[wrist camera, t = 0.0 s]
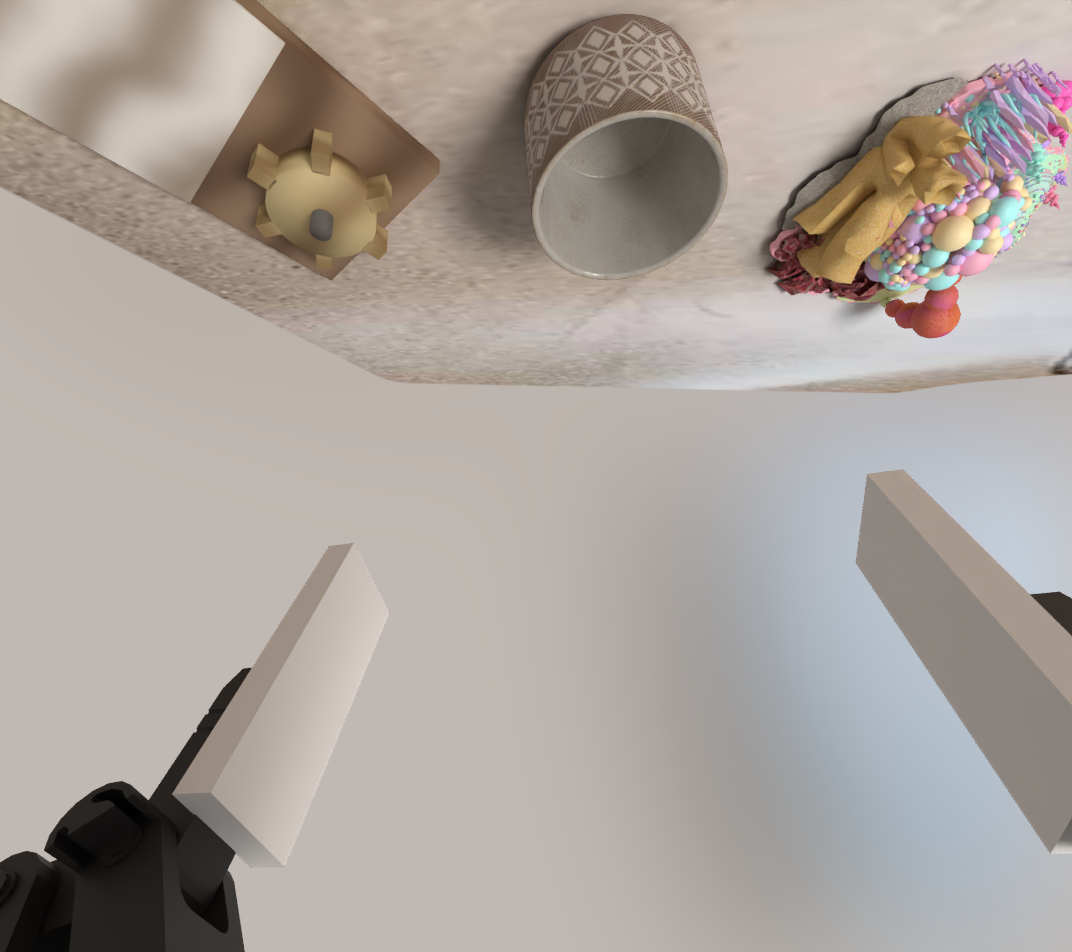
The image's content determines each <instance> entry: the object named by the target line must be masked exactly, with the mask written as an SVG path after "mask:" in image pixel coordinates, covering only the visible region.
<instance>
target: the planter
mask: <svg viewBox="0 0 1072 952" xmlns="http://www.w3.org/2000/svg"><path fill="white" fill-rule="evenodd" d="M524 134H525V145H526V156H527V168H528V179H529V190H530V201H531V213H532V222H533V228H534V232H535V235H536V238H537V240H538V242H539V244H540V246H541V247H542V249H543V250H544V252H545V253H546V254H547V255H548V256H549V257H550V258H551V259H552V260H553V261H554V262H555V263H556V264H558V265H559V266H560V267H562V268H564V269H565V270H567V271H569V272H571V273H574V274H576V275H579V276H583V277H587V278H592V279H599V280H619V279H627V278H632V277H636V276H640V275H644V274H647V273H650V272H652V271H655V270H657V269H659V268H661V267H664V266H666V265H667V264H669V263H671V262H673V261H674V260H676V259H677V258H679V257H680V256H682V255H683V254H684V253H686V252H687V251H688V250H689V249H691V248H692V247H693V246H694V245H695V244H696V243H697V242H698V241H699V240H700V239H701V238H702V237H703V236H704V234H705V233H706V232H707V231H708V229H709V228H710V227H711V225H712V224H713V222H714V221H715V219H716V217H717V215H718V213H719V211H720V209H721V207H722V204H723V201H724V198H725V195H726V190H727V183H728V170H727V163H726V159H725V155H724V152H723V149H722V145H721V142H720V139H719V136H718V132H717V129H716V126H715V122H714V119H713V116H712V113H711V109H710V106H709V103H708V100H707V96H706V93H705V90H704V86H703V83H702V80H701V77H700V73H699V70H698V67H697V64H696V61H695V58H694V56H693V54H692V52H691V50H690V49H689V47H688V46H687V44H686V43H685V41H684V40H683V39H682V38H681V37H680V36H679V35H678V34H677V33H676V32H675V31H674V30H673V29H671V28H670V27H669V26H667V25H665V24H664V23H662V22H660V21H657V20H655V19H652V18H649V17H645V16H641V15H633V14H622V15H613V16H608V17H604V18H600V19H598V20H595V21H592V22H590V23H588V24H586V25H584V26H582V27H580V28H578V29H577V30H575V31H574V32H572V33H571V34H569V35H568V36H567V37H566V38H564V39H563V40H562V41H561V42H560V43H559V44H558V45H557V46H556V47H555V48H554V49H553V50H552V51H551V52H550V54H549V55H548V56H547V57H546V59H545V60H544V62H543V63H542V64H541V66H540V68H539V69H538V71H537V73H536V75H535V77H534V79H533V81H532V84H531V86H530V89H529V92H528V96H527V100H526V105H525V111H524Z"/></svg>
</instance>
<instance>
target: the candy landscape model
mask: <svg viewBox="0 0 1072 952" xmlns="http://www.w3.org/2000/svg"><path fill="white" fill-rule="evenodd" d="M1023 62H1024V63H1025V65H1026V66H1027V67H1028V69H1029V70H1030V71H1031V72H1033V74H1034V75H1035V76H1037V77H1039V78H1040V80H1041V82H1042V83H1043V85H1044V86H1040V87H1039V86H1038V84H1037V82H1036V81H1035V79H1032V78H1031V76H1030V74H1029V73H1028V74H1025V73H1024V71H1020V72H1017V70H1016V68H1015V67H1014V66H1013V65H1012V63H1009V65H1008V67H1009V68H1010V69H1011V71H1012V73H1013V74H1014V75H1012V73H1004V72H1003V71H1002V70H1001V69H1000V67H999V65H998V63H995V64H994V65H993V66H994V67H995V68H996V70H997V71H998V72H999V73H1000V75H1001V76H999V75H998V72H997V73H995V76H996V77H997V78H995V79H993V78H992V77H988V76H985V77H983V78H982V79H979V80H976V81H973V82H970V83H968V81H967V80H963V79H962V78H953V79H949V80H945V81H941V82H937V83H933V84H930V85H926V86H923V87H921V88H920V89H918V90H917V91H916V92H915V93H914V94H913V95H911V96H910V97H907V98H904V99H902V100H900V101H898V102H897V103H896V104H895V105H894V106H893V107H891V108H890V109H889V110H887V111H886V112H885V113H884V114H883V116H882V117H881V119H880V122H879V124H878V127H877V128H876V130H875V131H874V132H873V133H872V134H871V135H869V136H868V137H867V138H866V139H865V141H864V142H863V145H862V147H861V150H860V152H859V154H858V155H857V156H855V157H853V158H849V159H846V160H842V161H840V162H838V163H836V164H835V165H834V166H833V167H832V168H831V169H829V170H826V171H824V172H821V173H820V174H818V175H817V176H816V177H815V178H814V179H813V180H812V181H810V182H809V183H808V184H807V185H806V186H805V187H804V188H803V189H801V190H800V191H799V193H798V194H797V197H796V201H795V204H794V205H793V207H791V208H790V209H789V210H788V211H787V213H786V217H785V221H784V223H783V226H782V230H784V231H782V232H781V233H780V234H779V235H778V237H777V239H776V240H775V241H773V242H772V243H771V244H770V247H769V249H770V253H771V256H772V257H775V258H776V259H778V260H779V261H780V262H778V263H776V264H775V265H773V266H771V267H769V268H767V270H768V271H770V272H771V273H772V274H774V275H775V276H777V277H778V278H787V280H785V281H783V282H780V283H778V285H779V286H780V287H782V288H783V289H784V290H786V291H787V292H788V293H789V294H791V295H794V294H798V293H805V292H807V293H810V294H811V295H816V294H820V293H824V292H829V291H830V293H833V294H834V295H835V298H836V300H841V301H847V302H849V303H854V302H862V303H868V302H869V303H877V302H881V306H882V307H886V308H885V312H886V314H887V315H888V316H890V317H895V321H896V323H897V324H898V325H899V326H900V327H902V328H913V330H914V331H915V332H916V333H917V334H918V335H919V336H922V337H926V338H937V337H942V336H944V335H946V334H948V333H950V332H951V331H952V330H953V329H954V328H955V327H956V325H957V324H958V322H959V319H960V315H961V313H960V310H959V307H958V305H957V304H956V302H957V300H958V290H957V289H956V287H955V286H953V285H955V284H957V283H958V282H959V281H960V280H961V278H962V276H971V275H975V274H978V273H980V272H982V271H983V270H984V269H985V268H987V267H988V266H989V265H990V263H991V261H992V259H993V258H995V257H997V255H998V254H1001V253H1002V252H1003V251H1004V250H1005V251H1007V250H1008V249H1010V248H1011V246H1014V244H1016V243H1017V242H1018V241H1017V240H1019V239H1020V238H1021V236H1024V235H1025V232H1023V231H1024V229H1025V228H1027V226H1028V224H1029V223H1030V220H1031V216H1032V214H1033V213H1034V212H1035V211H1036V210H1037V209H1038V208H1039V206H1040V205H1041V204H1042V203H1043V204H1047V203H1048V202H1049V201H1050V204H1049V205H1050V206H1051V207H1053V206H1055V207H1058V209H1060V208H1059V205H1058V203H1057V201H1058V195H1057V194H1056V195H1055V193H1052V192H1053V191H1054V190H1055V189H1056V188H1057V184H1058V183H1059V182H1060V181H1061V183H1060V184H1061V185H1063V184H1064V185H1066V186H1067V184H1066V177H1064V175H1065V173H1066V172H1067V170H1068V168H1067V165H1068V162H1069V160H1070V159H1069V158H1068V156H1067V155H1066V152H1064V151H1063V150H1062V149H1061V147H1056V148H1053V147H1051V146H1050V145H1049V144H1050V141H1051V138H1050V135H1051V134H1052V136H1053V137H1058V136H1059V139H1060V141H1059V142H1060V143H1062V146H1063V147H1065V146H1064V145H1065V142H1066V139H1067V138H1068V137H1069V135H1068V134H1066V131H1067V132H1068V133H1069V134H1071V133H1072V124H1071V122H1070V121H1069V119H1068V117H1066V116H1065V115H1064V114H1065V111H1066V110H1068V109H1069V108H1070V107H1071V106H1072V97H1071V95H1072V81H1063V82H1062V81H1061V80H1060V79H1059V78H1058V77H1057V76H1056V73H1055V72H1054V71H1052V72H1051V74H1052V75H1053V77H1054V78H1055V79H1056V81H1057V82H1058V83H1054V81H1053V80H1052V79H1050V78H1049V76H1048V74H1047V73H1045V72H1044V71H1043V69H1042V68H1040V67H1039V64H1038V63H1035V64H1034V65H1032V66H1030V65H1029V63H1028V61H1027V59H1024V60H1023ZM1020 76H1021V77H1022V80H1019V79H1018V77H1020ZM1064 130H1066V131H1064ZM1024 227H1025V228H1024ZM1021 234H1022V235H1021ZM923 286H925V287H926V288H927V289H930V290H929V291H928V292H927V294H926V296H925V301H923V302H922V303H920V304H919V303H917V302H911V303H907V304H905V303H904V302H903V301H902V300H899V299H896V298H898V297H900V296H902V295H905V294H907V293H910V292H914V291H916V290H918V289H919V288H921V287H923ZM891 299H896V300H892V301H890V300H891Z"/></svg>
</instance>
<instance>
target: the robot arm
mask: <svg viewBox="0 0 1072 952" xmlns="http://www.w3.org/2000/svg"><path fill="white" fill-rule="evenodd" d="M866 480H867V481H866V487H865V495H864V503H863V512H862V519H861V527H860V534H859V542H858V550H857V558H856V564H857V565H858V567H859V568H860V570H861V571H862V573H863V574H864V576H865V577H866V579H867V580H868V582H869V583H870V585H871V586H872V588H873V589H874V591H875V592H876V594H877V595H878V597H879V598H880V600H881V601H882V603H883V604H884V606H885V607H886V609H887V610H888V612H889V613H890V615H891V616H892V618H893V619H894V621H895V622H896V624H897V625H898V627H899V628H900V630H901V631H902V633H903V634H904V636H905V637H906V639H907V640H908V642H909V643H910V645H911V646H912V648H913V649H914V651H915V652H916V654H917V655H918V657H919V658H920V660H921V661H922V662H923V664H924V665H925V667H926V669H927V670H928V671H929V673H930V675H931V676H932V677H933V679H934V681H935V682H936V684H937V685H938V687H939V688H940V690H941V691H942V692H943V694H944V696H945V697H946V698H947V700H948V701H949V703H950V704H951V706H952V707H953V709H954V710H955V712H956V713H957V715H958V716H959V718H960V719H961V721H962V722H963V724H964V725H965V727H966V728H967V730H968V731H969V733H970V734H971V736H972V737H973V739H974V740H975V742H976V743H977V745H978V746H979V748H980V749H981V751H982V752H983V754H984V755H985V757H986V758H987V760H988V761H989V763H990V764H991V766H992V767H993V769H994V770H995V772H996V773H997V775H998V776H999V778H1000V779H1001V781H1002V782H1003V784H1004V785H1005V787H1006V788H1007V790H1008V791H1009V793H1010V794H1011V796H1012V797H1013V799H1014V800H1015V802H1016V803H1017V805H1018V806H1019V808H1020V809H1021V811H1022V812H1023V814H1024V815H1025V817H1026V818H1027V820H1028V821H1029V823H1030V824H1031V826H1032V827H1033V829H1034V830H1035V832H1036V833H1037V835H1038V836H1039V837H1040V839H1041V841H1042V842H1043V843H1044V845H1045V846H1046V848H1047V850H1048V851H1049V853H1050V854H1062V853H1063V854H1064V853H1065V854H1066V853H1072V599H1071V598H1070V597H1068V596H1066V595H1064V594H1062V593H1061V592H1052V593H1042V594H1031V595H1030V594H1029V593H1027V591H1026V590H1025V589H1024V588H1023V587H1021V585H1019V583H1018V582H1016V581H1015V580H1014V578H1013V577H1011V576H1010V574H1008V573H1007V572H1006V571H1005V570H1004V569H1003V568H1002V567H1001V566H1000V565H999V564H998V563H997V562H996V561H995V560H994V559H993V558H992V557H991V556H990V555H989V554H988V553H987V552H986V551H985V550H984V549H983V548H982V547H981V546H980V545H979V544H978V543H977V542H976V541H975V540H974V539H973V538H972V537H971V536H970V535H969V534H968V533H967V532H966V531H965V530H964V529H963V528H962V527H961V526H960V525H959V524H958V523H957V522H956V521H955V520H954V519H953V518H952V517H951V516H950V515H949V514H948V513H947V512H946V511H945V510H943V508H942V507H941V506H940V505H939V504H938V503H936V501H934V499H933V498H932V497H930V495H928V494H927V493H926V492H925V491H924V490H923V489H922V488H921V487H920V486H919V485H918V484H917V483H916V482H915V481H914V480H913V479H912V478H911V477H910V476H909V475H908V474H907V473H906V472H905V471H904V470H895V471H887V472H880V473H873V474H867V479H866ZM388 615H389V611H388V609H387V607H386V605H385V603H384V601H383V599H382V597H381V595H380V593H379V591H378V590H377V587H376V585H375V583H374V582H373V580H372V578H371V576H370V574H369V572H368V570H367V568H366V566H365V564H364V562H363V560H362V558H361V556H360V554H359V552H358V550H357V548H356V546H355V544H354V543H350V544H343V545H335V546H329V547H328V549H327V550H326V552H325V554H324V555H323V557H322V558H321V560H320V562H319V563H318V565H317V566H316V568H315V569H314V571H313V572H312V574H311V576H310V577H309V579H308V580H307V582H306V583H305V585H304V587H303V588H302V590H301V591H300V593H299V595H298V596H297V598H296V599H295V601H294V602H293V604H292V606H291V607H290V609H289V610H288V612H287V613H286V615H285V617H284V618H283V620H282V621H281V623H280V624H279V626H278V628H277V629H276V631H275V632H274V634H273V636H272V637H271V639H270V640H269V642H268V643H267V645H266V647H265V648H264V650H263V651H262V653H261V654H260V656H259V658H258V659H257V661H256V663H255V664H254V666H253V667H252V668H246V669H242V670H241V671H240V672H239V673H238V674H237V675H236V676H235V677H234V678H233V679H232V680H231V681H230V682H229V683H228V684H227V685H226V686H225V687H224V688H223V689H222V691H221V692H220V694H219V695H218V697H217V698H216V700H215V701H214V703H213V705H212V706H211V707H210V709H209V713H208V714H206V715H205V716H204V718H203V719H202V721H201V722H200V724H199V725H198V727H197V732H196V733H193V734H192V736H191V738H190V739H189V740H188V742H187V743H186V745H185V746H184V748H183V749H182V751H181V752H180V754H179V756H178V757H177V758H176V760H175V762H174V763H173V765H172V766H171V768H170V769H169V770H168V772H167V774H166V775H165V777H164V778H163V780H162V781H161V783H160V784H159V786H158V787H157V789H156V790H155V792H154V793H153V795H152V796H151V798H150V799H149V800H147V799H146V798H145V797H144V796H143V795H142V794H140V793H139V792H138V791H137V790H136V789H135V788H134V787H133V786H131V785H130V784H127V783H125V782H122V781H120V782H114V783H109V784H106V785H104V786H102V787H100V788H98V789H96V790H94V791H92V792H91V793H89V794H88V795H87V796H86V797H84V798H83V799H81V800H80V801H79V802H77V803H76V804H75V805H74V806H73V807H72V808H71V809H70V810H69V811H68V812H67V813H66V814H65V815H64V816H63V817H62V818H61V819H60V821H59V822H58V824H57V825H56V827H55V828H54V830H53V831H52V832H51V834H50V835H49V838H48V841H47V843H46V846H45V849H44V851H46V852H47V853H48V854H50V855H51V856H53V857H54V858H56V859H57V860H55V861H52V862H49V861H47V860H45V859H44V858H43V857H41V856H40V855H38V854H37V853H34V852H29V851H25V852H21V853H18V854H15V855H12V856H10V857H9V858H7V859H5V860H4V861H2V862H0V952H245V951H244V944H243V938H242V931H241V924H240V918H239V911H238V905H237V898H236V891H235V885H234V881H233V878H232V876H231V874H230V873H229V872H228V871H227V870H228V868H229V866H230V864H231V862H232V860H233V857H234V855H235V854H237V855H238V856H239V857H240V858H241V859H242V860H243V861H244V862H245V863H246V864H247V865H248V866H249V867H285V865H286V863H287V860H288V858H289V855H290V853H291V851H292V848H293V846H294V843H295V841H296V839H297V836H298V833H299V831H300V829H301V826H302V824H303V821H304V819H305V817H306V814H307V811H308V809H309V807H310V804H311V802H312V800H313V797H314V795H315V792H316V790H317V787H318V785H319V783H320V780H321V778H322V775H323V773H324V770H325V768H326V766H327V763H328V761H329V758H330V756H331V753H332V751H333V748H334V746H335V744H336V741H337V739H338V737H339V734H340V732H341V729H342V727H343V724H344V722H345V720H346V717H347V714H348V712H349V710H350V707H351V705H352V703H353V700H354V698H355V695H356V693H357V690H358V688H359V686H360V683H361V681H362V678H363V676H364V673H365V671H366V669H367V666H368V664H369V661H370V659H371V656H372V654H373V652H374V649H375V646H376V644H377V642H378V639H379V637H380V635H381V632H382V630H383V627H384V625H385V622H386V620H387V617H388Z"/></svg>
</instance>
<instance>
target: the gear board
mask: <svg viewBox="0 0 1072 952" xmlns="http://www.w3.org/2000/svg"><path fill="white" fill-rule="evenodd" d="M0 99H1V100H3V101H5V102H7V103H8V104H10V105H12V106H14V107H16V108H17V109H19V110H21V111H23V112H25V113H27V114H28V115H30V116H32V117H34V118H36V119H37V120H39V121H41V122H43V123H45V124H46V125H48V126H50V127H52V128H54V129H55V130H57V131H59V132H61V133H63V134H64V135H66V136H68V137H70V138H72V139H73V140H75V141H77V142H79V143H81V144H83V145H84V146H86V147H88V148H90V149H92V150H93V151H95V152H97V153H99V154H101V155H102V156H104V157H106V158H108V159H110V160H111V161H113V162H115V163H117V164H119V165H120V166H122V167H124V168H126V169H128V170H129V171H131V172H133V173H135V174H137V175H139V176H140V177H142V178H144V179H146V180H148V181H149V182H151V183H153V184H155V185H157V186H158V187H160V188H162V189H164V190H166V191H167V192H169V193H171V194H173V195H175V196H176V197H178V198H180V199H182V200H184V201H186V202H187V203H190V202H191V203H193V204H195V205H196V206H198V207H200V208H202V209H204V210H205V211H207V212H209V213H211V214H213V215H214V216H216V217H218V218H220V219H222V220H223V221H225V222H227V223H229V224H231V225H232V226H234V227H236V228H238V229H240V230H241V231H243V232H245V233H247V234H249V235H250V236H252V237H254V238H256V239H258V240H259V241H261V242H263V243H265V244H267V245H268V246H270V247H272V248H274V249H276V250H277V251H279V252H281V253H283V254H285V255H286V256H288V257H290V258H292V259H294V260H295V261H297V262H299V263H301V264H303V265H304V266H306V267H308V268H310V269H312V270H313V271H315V272H317V273H319V274H321V275H322V276H324V277H326V278H328V279H330V280H332V279H333V278H334V277H335V276H336V275H337V274H338V273H339V272H340V271H341V270H342V269H343V268H344V267H345V266H346V265H348V264H349V263H350V262H351V261H352V260H353V259H354V258H355V257H356V256H357V255H358V254H359V253H360V252H361V251H363V250H364V251H365V252H367V253H368V254H370V255H372V256H373V257H375V258H376V259H378V260H379V259H380V258H381V257H382V256H383V255H384V254H385V253H386V252H387V236H388V231H387V230H385V229H384V228H385V227H386V226H387V225H388V224H389V223H390V222H391V221H392V220H393V219H394V218H395V217H396V216H397V215H398V214H399V213H400V212H401V211H402V210H403V209H404V208H405V207H406V206H407V205H408V204H409V203H410V202H411V201H412V200H413V199H414V198H415V197H416V196H417V195H418V194H419V193H420V192H421V191H422V190H423V189H424V188H425V187H426V186H427V185H428V184H429V183H430V182H431V181H432V180H433V179H434V178H435V177H436V176H437V175H438V174H439V159H438V158H436V157H435V156H434V155H433V154H432V153H431V152H430V151H428V150H427V149H426V148H425V147H424V146H423V145H422V144H420V143H419V142H418V141H417V140H416V139H415V138H413V137H412V136H411V135H410V134H409V133H408V132H407V131H405V130H404V129H403V128H402V127H401V126H400V125H399V124H397V123H396V122H395V121H394V120H393V119H392V118H390V117H389V116H388V115H387V114H386V113H385V112H384V111H382V110H381V109H380V108H379V107H378V106H377V105H376V104H374V103H373V102H372V101H371V100H370V99H369V98H367V97H366V96H365V95H364V94H363V93H362V92H361V91H359V90H358V89H357V88H356V87H355V86H354V85H353V84H351V83H350V82H349V81H348V80H347V79H346V78H344V77H343V76H342V75H341V74H340V73H339V72H338V71H336V70H335V69H334V68H333V67H332V66H331V65H330V64H328V63H327V62H326V61H325V60H324V59H323V58H321V57H320V56H319V55H318V54H317V53H316V52H315V51H313V50H312V49H311V48H310V47H309V46H308V45H307V44H305V43H304V42H303V41H302V40H301V39H300V38H299V37H297V36H296V35H295V34H294V33H293V32H292V31H290V30H289V29H288V28H287V27H286V26H285V25H284V24H282V23H281V22H280V21H279V20H278V19H277V18H276V17H274V16H273V15H272V14H271V13H270V12H269V11H267V10H266V9H265V8H264V7H263V6H262V5H261V4H259V3H258V2H257V1H256V0H0Z"/></svg>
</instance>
